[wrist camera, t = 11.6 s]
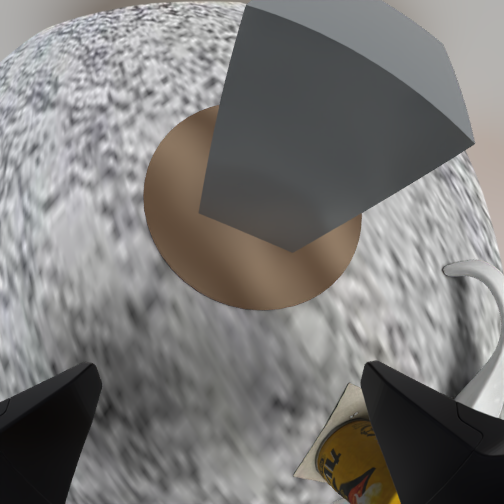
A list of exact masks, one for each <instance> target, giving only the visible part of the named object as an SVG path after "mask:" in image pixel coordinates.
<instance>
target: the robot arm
mask: <svg viewBox="0 0 504 504" xmlns="http://www.w3.org/2000/svg"><path fill="white" fill-rule="evenodd" d="M101 389H102V381H101V379H100V376H99V373H98V370H97V368H96V366H95V364H93V363H89V362H83V363H81V364H79V365H77V366H75V367H72V368H70V369H68V370H66V371H64V372H62V373H60V374H58V375H56V376H54V377H52V378H50V379H48V380H46V381H44V382H42V383H40V384H38V385H36V386H34V387H32V388H29V389H27V390H25V391H23V392H21V393H19V394H17V395H15V396H13V397H11V398H8V399H6V400H4V401H2V402H0V504H65V502H66V498H67V495H68V492H69V488H70V485H71V482H72V478H73V475H74V472H75V469H76V466H77V463H78V460H79V457H80V454H81V452H82V449H83V446H84V443H85V440H86V438H87V435H88V432H89V430H90V427H91V424H92V421H93V418H94V414H95V411H96V407H97V403H98V400H99V396H100V393H101ZM361 389H362V393H363V397H364V400H365V404H366V408H367V412H368V415H369V419H370V422H371V425H372V428H373V431H374V433H375V436H376V438H377V441H378V443H379V446H380V448H381V451H382V454H383V456H384V459H385V461H386V464H387V467H388V469H389V472H390V475H391V477H392V480H393V483H394V486H395V488H396V491H397V494H398V497H399V500H400V503H401V504H504V420H502V419H499V418H496V417H494V416H491V415H488V414H485V413H483V412H480V411H477V410H475V409H473V408H471V407H468V406H466V405H464V404H462V403H460V402H458V401H457V402H456V401H455V400H454V399H452V398H450V397H448V396H446V395H444V394H442V393H440V392H438V391H436V390H434V389H432V388H430V387H428V386H426V385H424V384H422V383H420V382H418V381H416V380H414V379H412V378H410V377H408V376H406V375H404V374H402V373H401V372H399V371H397V370H395V369H393V368H391V367H389V366H387V365H385V364H383V363H382V362H380V361H377V360H376V361H370V362H367V363H366V364H365V366H364V370H363V374H362V378H361Z"/></svg>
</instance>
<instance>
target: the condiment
mask: <svg viewBox="0 0 504 504" xmlns="http://www.w3.org/2000/svg"><path fill="white" fill-rule="evenodd" d="M356 412H358V414H357V415H354V414H355V413H356ZM352 415H353V417H352V418H350V416H352ZM294 477H299V478H303V479H308V480H314V481H320V482H326V483H328V484H329V485H330V486H332V488H333V489H334V490H335V491H336V492H338V494H339V495H341V496H342V497H343V498H344V499H346V500H347V501H348V502H349V503H350V504H401V503H400V500H399V497H398V494H397V491H396V488H395V486H394V483H393V480H392V477H391V475H390V472H389V469H388V467H387V464H386V461H385V459H384V456H383V454H382V451H381V448H380V446H379V443H378V441H377V438H376V436H375V433H374V431H373V428H372V425H371V422H370V419H369V415H368V412H367V408H366V404H365V400H364V397H363V393H362V389H361V388H359V387H357V386H355V385H352V384H350V383H349V384H348V386H347V388H346V390H345V393H344V395H343V396H342V398H341V399H340V401H339V404H338V406H337V408H336V409H335V411H334V413H333V414H332V416H331V418H330V420H329V421H328V423H327V424H326V426H325V428H324V429H323V431H322V432H321V434H320V435H319V437H318V438H317V440H316V442H315V443H314V445H313V446H312V448H311V449H310V451H309V453H308V454H307V455H306V457H305V458H304V460H303V462H302V463H301V464H300V466H299V467H298V469H297V470H296V472H295V474H294Z"/></svg>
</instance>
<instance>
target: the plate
mask: <svg viewBox="0 0 504 504" xmlns="http://www.w3.org/2000/svg"><path fill="white" fill-rule="evenodd" d="M218 109H219V105H217V106H213V107H210V108H207V109H204V110H202V111H199V112H197V113H195V114H193V115H191V116H189V117H188V118H186V119H185V120H183V121H182V122H181V123H179V124H178V125H177V126H176V127H174V128H173V129H172V130H171V131H170V132H169V133H168V134H167V135H166V137H165V138H164V139H163V140H162V142H161V143H160V144H159V146H158V148H157V149H156V151H155V153H154V154H153V157H152V159H151V161H150V164H149V166H148V170H147V174H146V178H145V184H144V195H143V196H144V211H145V215H146V220H147V224H148V227H149V230H150V233H151V235H152V238H153V240H154V243H155V245H156V246H157V248H158V250H159V252H160V253H161V255H162V257H163V258H164V260H165V261H166V262H167V263H168V265H169V266H170V267H171V269H172V270H173V271H174V272H175V273H176V274H177V275H178V276H179V277H180V278H181V279H182V280H183V281H184V282H186V283H187V284H188V285H190V286H191V287H192V288H194V289H195V290H197V291H198V292H200V293H202V294H203V295H205V296H207V297H209V298H211V299H213V300H215V301H218V302H221V303H223V304H226V305H229V306H233V307H238V308H242V309H251V310H273V309H282V308H286V307H291V306H295V305H298V304H300V303H303V302H306V301H308V300H310V299H312V298H314V297H316V296H317V295H319V294H321V293H322V292H323V291H325V290H326V289H327V288H329V287H330V286H331V285H332V284H333V283H334V282H335V281H336V280H337V279H338V278H339V277H340V276H341V275H342V273H343V272H344V270H345V269H346V268H347V266H348V265H349V263H350V261H351V259H352V257H353V255H354V253H355V250H356V247H357V244H358V241H359V236H360V231H361V220H362V213H361V214H359V215H357V216H356V217H354V218H352V219H351V220H349V221H347V222H346V223H344V224H342V225H340V226H339V227H337V228H335V229H333V230H332V231H330V232H328V233H327V234H325V235H323V236H321V237H320V238H318V239H316V240H314V241H313V242H311V243H309V244H307V245H306V246H304V247H302V248H300V249H299V250H297V251H295V252H293V253H292V252H289V251H287V250H285V249H282V248H280V247H278V246H275V245H273V244H271V243H268V242H266V241H264V240H261V239H259V238H257V237H254V236H252V235H250V234H247V233H245V232H242V231H240V230H238V229H235V228H233V227H230V226H228V225H226V224H223V223H221V222H219V221H216V220H214V219H211V218H209V217H206V216H204V215H202V214H199V208H200V202H201V196H202V190H203V184H204V179H205V173H206V168H207V162H208V157H209V152H210V147H211V142H212V137H213V132H214V128H215V123H216V118H217V114H218Z"/></svg>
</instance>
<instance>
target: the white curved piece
mask: <svg viewBox="0 0 504 504" xmlns="http://www.w3.org/2000/svg"><path fill="white" fill-rule="evenodd" d="M443 271H444V273H445V274H446V275H448V276H451V277H456V276H470V277H474V278H476V279H479V280H480V281H482V282H483V283H484V284H485V285H486V286H487V287H488V288H489V289H490V291H491V292H492V294H493V296H494V298H495V300H496V302H497V305H498V308H499V312H500V316H501V334H500V339H499V342H498V345H497V347H496V350H495V351H494V353H493V355H492V356H491V358H490V359H489V360H488V362H487V363H486V364H485V365H484V367H483V368H482V369H481V370H480V371H479V372H478V373H477V375H476V376H475V377H474V378H473V379H472V380H471V381H470V382H469V383H468V384H467V385H466V386H465V387H464V389H463V390H462V391H461V392H460V393H459V394H458V395H457V396H456V398H455V399H454V400H455V401H456V402H457V401H458V402H460V403H462V404H464V405H466V406H468V407H471V408H473V409H475V410H477V411H480V412H483V413H485V414H488V415H491V416H494V417H496V418H499V415H500V412H501V409H502V406H503V402H504V275H503V274H502V273H501V272H500V271H499V270H498V269H497V268H496V267H494V266H493V265H491V264H489V263H487V262H485V261H481V260H466V261H461V262H457V263H453V264H450V265H447V266H445V267H444V269H443Z"/></svg>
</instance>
